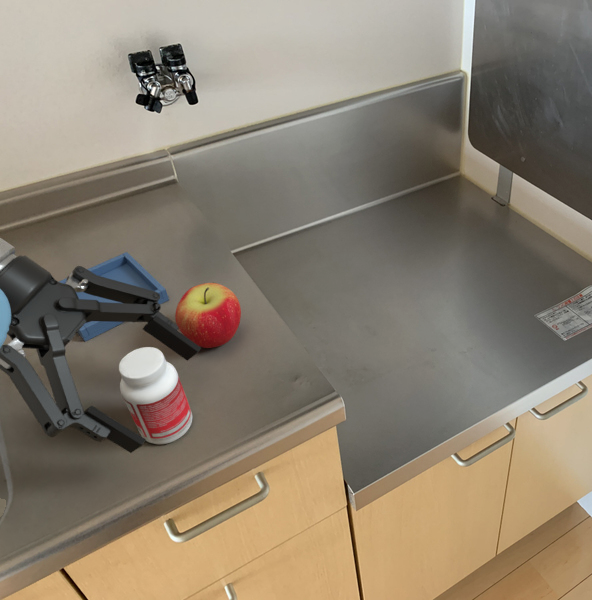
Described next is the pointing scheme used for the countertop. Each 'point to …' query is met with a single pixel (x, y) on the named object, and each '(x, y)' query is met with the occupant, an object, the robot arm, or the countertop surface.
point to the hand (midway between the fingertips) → (168, 397)
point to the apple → (208, 314)
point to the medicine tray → (122, 271)
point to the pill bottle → (154, 396)
